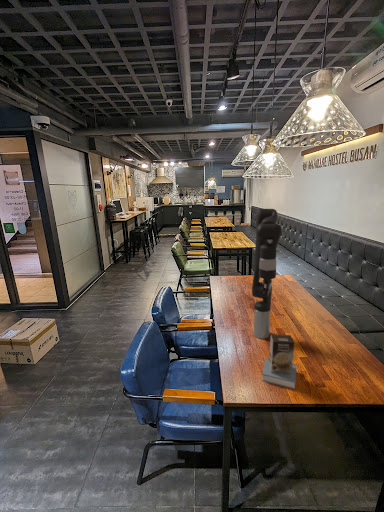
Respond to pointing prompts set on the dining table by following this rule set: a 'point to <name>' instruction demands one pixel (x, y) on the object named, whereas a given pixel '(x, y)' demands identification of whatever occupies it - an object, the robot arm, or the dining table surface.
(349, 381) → the dining table surface
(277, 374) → the book
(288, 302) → the dining table surface
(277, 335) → the coffee box
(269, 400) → the dining table surface
